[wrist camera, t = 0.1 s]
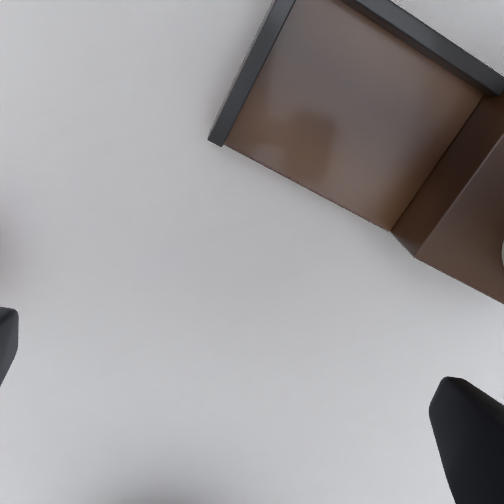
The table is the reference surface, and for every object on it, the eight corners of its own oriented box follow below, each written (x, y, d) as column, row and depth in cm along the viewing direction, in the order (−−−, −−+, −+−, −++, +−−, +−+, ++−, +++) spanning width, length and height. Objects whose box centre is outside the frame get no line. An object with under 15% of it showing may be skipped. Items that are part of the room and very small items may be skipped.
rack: (500, 284, 26) (581, 352, 20) (209, 130, 22) (202, 156, 16) (600, 163, 23) (729, 198, 17) (292, -40, 19) (321, -87, 13)
